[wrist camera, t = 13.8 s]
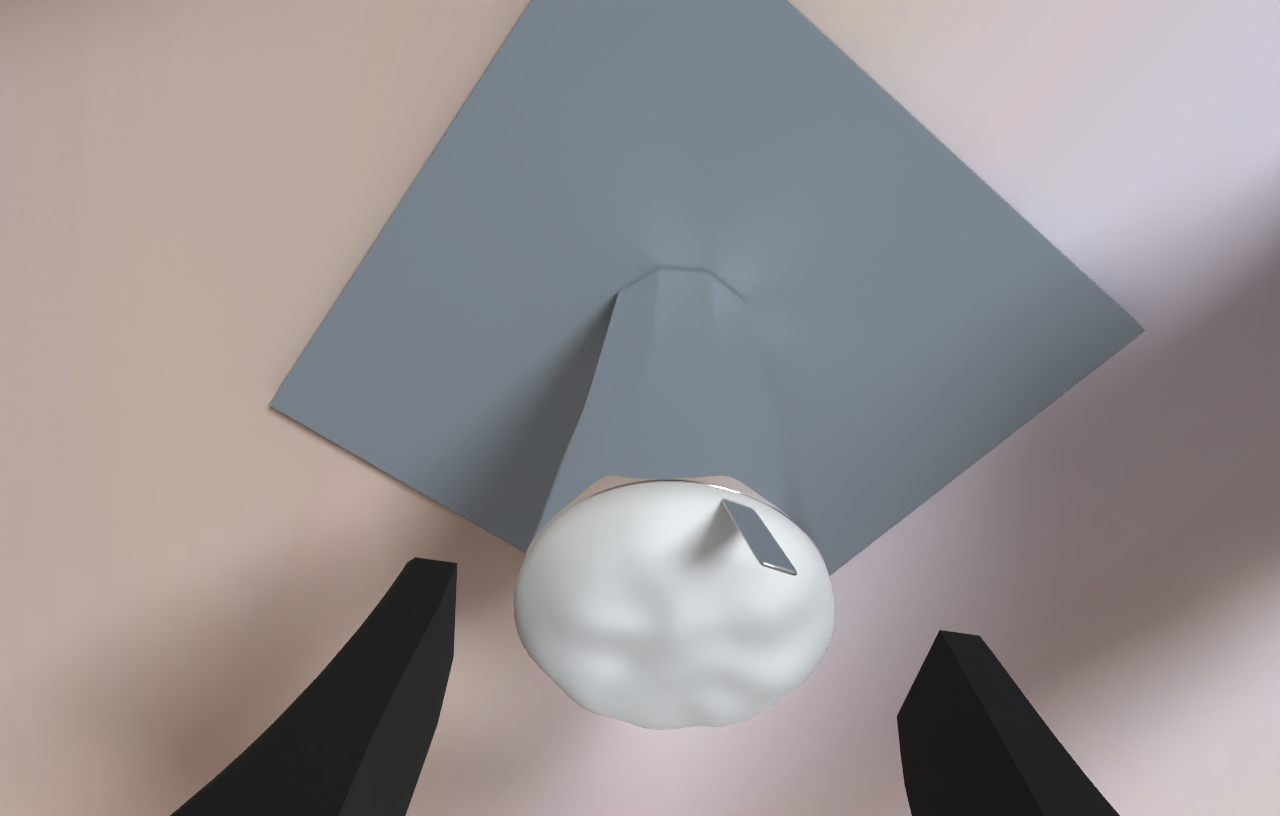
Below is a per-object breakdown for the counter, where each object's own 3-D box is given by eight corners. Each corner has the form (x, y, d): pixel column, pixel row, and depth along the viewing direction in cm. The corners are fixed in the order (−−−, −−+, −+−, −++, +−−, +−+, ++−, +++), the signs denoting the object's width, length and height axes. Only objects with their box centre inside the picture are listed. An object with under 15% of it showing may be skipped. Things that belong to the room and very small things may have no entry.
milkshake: (839, 249, 18) (968, 629, 10) (729, 442, 21) (756, 859, 12) (631, 167, 17) (578, 503, 9) (548, 379, 20) (450, 781, 12)
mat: (1136, 321, 19) (1144, 330, 19) (716, 652, 25) (717, 663, 25) (628, -147, 15) (626, -146, 14) (275, 395, 21) (269, 405, 21)
